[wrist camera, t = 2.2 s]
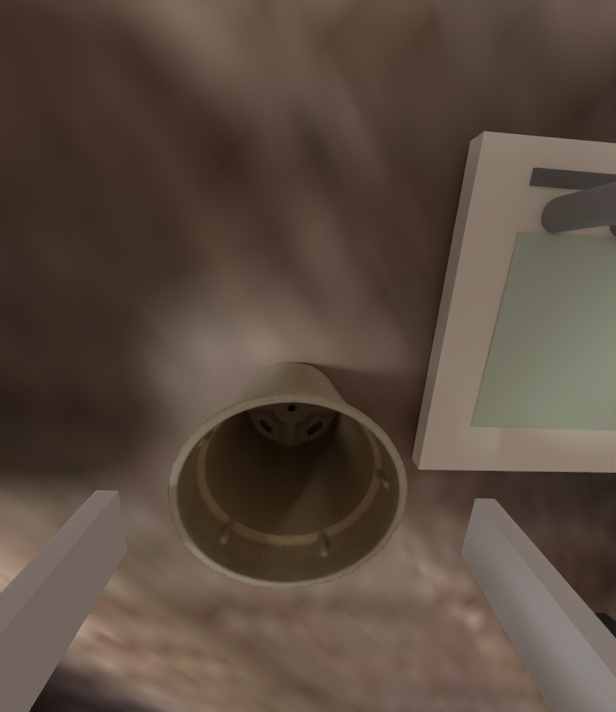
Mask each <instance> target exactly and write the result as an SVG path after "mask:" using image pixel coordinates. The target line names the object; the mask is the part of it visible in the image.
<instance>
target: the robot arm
mask: <svg viewBox="0 0 616 712" xmlns="http://www.w3.org/2000/svg"><path fill="white" fill-rule="evenodd" d="M126 552H127V546H126V539H125V532H124V526H123V519H122V512H121V506H120V499H119V493H118V491H111V490H96V491H95V492H94V493H93V494H92V495H91V496H90V497H89V498H88V499H87V501H86V502H85V503H84V504H83V505H82V506H81V507H80V508H79V509H78V510H77V511H76V512H75V514H74V515H73V516H72V517H71V518H70V519H69V520H68V521H67V522H66V523H65V524H64V525H63V527H62V528H61V529H60V530H59V531H58V532H57V533H56V534H55V535H54V536H53V537H52V538H51V540H50V541H49V542H48V543H47V544H46V545H45V546H44V547H43V548H42V549H41V550H40V552H39V553H38V554H37V555H36V556H35V557H34V558H33V559H32V560H31V561H30V562H29V563H28V565H27V566H26V567H25V568H24V569H23V570H22V571H21V572H20V573H19V574H18V575H17V576H16V578H15V579H14V580H13V581H12V582H11V583H10V584H9V585H8V586H7V587H6V588H5V589H4V591H3V592H2V593H1V594H0V712H29V710H30V709H31V707H32V705H33V704H34V702H35V700H36V699H37V697H38V696H39V694H40V692H41V691H42V689H43V687H44V686H45V684H46V682H47V681H48V679H49V678H50V676H51V674H52V673H53V671H54V669H55V668H56V666H57V665H58V663H59V661H60V660H61V658H62V656H63V655H64V653H65V651H66V650H67V648H68V647H69V645H70V643H71V642H72V640H73V638H74V637H75V635H76V633H77V632H78V630H79V629H80V627H81V625H82V624H83V622H84V620H85V619H86V617H87V615H88V614H89V612H90V611H91V609H92V607H93V606H94V604H95V602H96V601H97V599H98V597H99V596H100V594H101V593H102V591H103V589H104V588H105V586H106V584H107V583H108V581H109V579H110V578H111V576H112V575H113V573H114V571H115V570H116V568H117V566H118V565H119V563H120V561H121V560H122V558H123V557H124V555H125V553H126ZM461 556H462V558H463V560H464V561H465V563H466V565H467V566H468V568H469V570H470V572H471V573H472V575H473V577H474V579H475V580H476V582H477V584H478V586H479V587H480V589H481V591H482V593H483V594H484V596H485V598H486V600H487V601H488V603H489V605H490V607H491V608H492V610H493V612H494V613H495V615H496V617H497V619H498V620H499V622H500V624H501V626H502V627H503V629H504V631H505V633H506V634H507V636H508V638H509V640H510V641H511V643H512V645H513V647H514V648H515V650H516V652H517V654H518V655H519V657H520V659H521V660H522V662H523V664H524V666H525V667H526V669H527V671H528V673H529V674H530V676H531V678H532V680H533V681H534V683H535V685H536V687H537V688H538V690H539V692H540V694H541V695H542V697H543V699H544V700H545V702H546V704H547V706H548V707H549V709H550V711H551V712H616V621H615V620H613V619H612V618H611V617H610V616H608V615H607V614H606V613H593V612H592V610H591V609H590V608H589V607H588V606H587V605H586V603H585V602H584V601H583V600H582V599H581V598H580V597H579V595H578V594H577V593H576V592H575V591H574V590H573V588H572V587H571V586H570V585H569V584H568V583H567V582H566V580H565V579H564V578H563V577H562V576H561V575H560V573H559V572H558V571H557V570H556V569H555V568H554V567H553V565H552V564H551V563H550V562H549V561H548V560H547V558H546V557H545V556H544V555H543V554H542V553H541V551H540V550H539V549H538V548H537V547H536V546H535V545H534V543H533V542H532V541H531V540H530V539H529V538H528V536H527V535H526V534H525V533H524V532H523V531H522V530H521V528H520V527H519V526H518V525H517V524H516V523H515V521H514V520H513V519H512V518H511V517H510V516H509V515H508V513H507V512H506V511H505V510H504V509H503V508H502V506H501V505H500V504H499V503H498V502H497V501H496V500H495V499H482V498H475V501H474V505H473V509H472V513H471V517H470V520H469V524H468V528H467V532H466V536H465V540H464V543H463V547H462V551H461Z"/></svg>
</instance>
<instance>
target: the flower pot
mask: <svg viewBox="0 0 616 712" xmlns="http://www.w3.org/2000/svg"><path fill="white" fill-rule="evenodd" d="M290 405H293V406H294V407H295V409H294V411H290V410H289V406H290ZM261 420H263V421H264V422H265V423H266V424H269V427H270V428H271V429H272V431H271V432H269V431H267V430H266V429H265V428H264V427H263V426H262V425H261V423H260V421H261ZM317 422H320V423H321V424H322V426H321V428H320V429H318V430H316V431H314V432H313V433H312V434H307V430H308V429H310V428H311V427H312V426H314V425H315V424H317ZM407 494H408V485H407V477H406V470H405V467H404V464H403V462H402V459H401V457H400V455H399V453H398V451H397V449H396V447H395V446H394V444H393V443H392V441H391V440H390V438H389V437H388V435H387V434H386V433H385V432H384V431H383V429H382V428H381V427H380V426H378V425H377V424H376V423H375V422H374V421H373V420H371V419H370V418H369V417H368V416H366V415H365V414H364V413H362V412H360V411H359V410H357V409H356V408H354V407H352V406H350V405H348V404H346V402H345V401H344V400H343V398H342V397H341V396H340V394H339V393H338V391H337V390H336V389H335V387H334V386H333V384H332V382H331V381H330V380H329V379H328V377H327V376H326V375H324V374H323V373H322V372H321V371H319V370H318V369H316V368H314V367H312V366H310V365H307V364H301V363H280V364H276V365H274V366H271V367H269V368H267V369H265V370H264V371H262V372H261V373H260V374H259V375H258V376H257V377H256V378H255V379H254V380H253V381H252V383H251V384H250V386H249V387H248V388H247V390H246V391H245V392H244V394H243V395H242V396H241V397H240V399H239V400H238V401H237V402H236V403H235V404H233V405H231V406H229V407H227V408H225V409H223V410H221V411H219V412H218V413H216V414H215V415H214V416H212V417H211V418H209V419H208V420H207V421H206V422H204V423H203V424H202V425H201V426H200V427H199V428H198V429H197V430H196V431H195V432H194V433H193V434H192V436H191V437H190V438H189V439H188V441H187V442H186V443H185V445H184V446H183V448H182V449H181V451H180V453H179V454H178V456H177V458H176V460H175V463H174V465H173V468H172V472H171V475H170V480H169V484H168V504H169V509H170V515H171V518H172V522H173V524H174V526H175V528H176V531H177V532H178V535H179V537H180V538H181V539H182V541H183V543H185V545H186V546H187V547H188V548H189V549H190V551H191V552H193V553H194V554H195V556H196V557H197V558H198V559H199V560H201V561H203V562H204V564H206V565H207V566H208V567H211V568H213V569H215V570H216V571H217V572H220V573H222V574H224V575H226V576H228V577H231V578H233V579H236V580H238V581H241V582H245V583H248V584H254V585H256V586H263V587H269V588H272V587H273V588H298V587H306V586H312V585H317V584H323V583H326V582H330V581H333V580H335V579H337V578H341V577H342V576H344V575H347V574H350V573H351V572H353V571H355V570H357V569H358V568H360V567H361V566H363V565H364V564H365V563H367V562H368V561H369V560H370V559H372V558H373V557H374V556H375V555H376V554H377V553H378V552H379V551H380V550H381V549H382V548H383V547H384V546H385V545H386V544H387V543H388V541H389V540H390V538H391V536H392V534H393V533H394V532H395V531H396V530H397V527H398V526H399V524H400V522H401V519H402V518H403V515H404V511H405V506H406V502H407Z"/></svg>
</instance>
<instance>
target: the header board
mask: <svg viewBox="0 0 616 712" xmlns="http://www.w3.org/2000/svg"><path fill="white" fill-rule="evenodd" d="M412 460H413V462H414V463H415V465H416V467H417V468H418V470H477V471H543V472H610V473H616V143H606V142H595V141H584V140H573V139H563V138H552V137H541V136H530V135H519V134H508V133H498V132H487V131H484V132H483V133H481V134H480V135H478V136H477V137H476V138H474V139H473V140H471V141H470V145H469V151H468V156H467V162H466V167H465V172H464V178H463V183H462V189H461V194H460V200H459V205H458V210H457V216H456V221H455V227H454V232H453V237H452V243H451V248H450V254H449V259H448V265H447V270H446V275H445V281H444V286H443V292H442V297H441V302H440V308H439V313H438V319H437V324H436V330H435V335H434V340H433V346H432V351H431V357H430V362H429V367H428V373H427V378H426V384H425V389H424V395H423V400H422V405H421V411H420V416H419V422H418V427H417V432H416V438H415V443H414V449H413V454H412Z"/></svg>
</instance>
